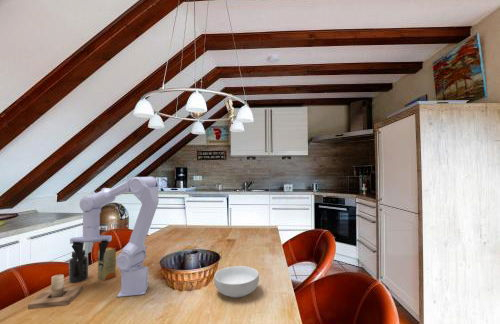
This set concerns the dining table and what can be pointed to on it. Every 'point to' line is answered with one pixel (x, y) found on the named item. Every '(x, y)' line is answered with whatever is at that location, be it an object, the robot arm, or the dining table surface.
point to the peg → (57, 286)
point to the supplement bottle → (78, 268)
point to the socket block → (47, 301)
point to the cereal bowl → (236, 280)
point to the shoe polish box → (107, 264)
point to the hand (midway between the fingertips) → (91, 260)
